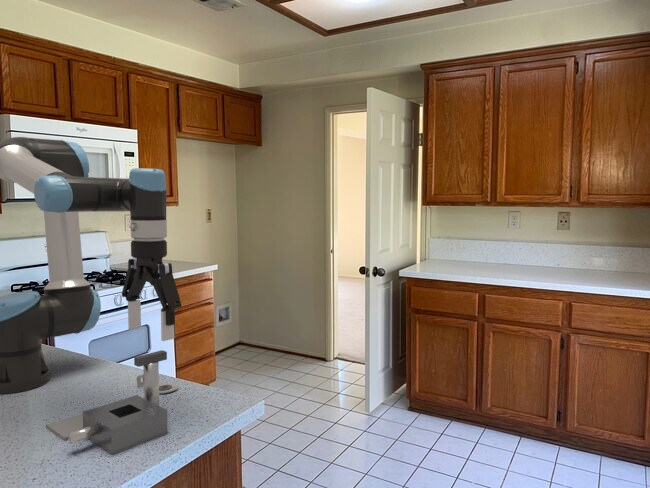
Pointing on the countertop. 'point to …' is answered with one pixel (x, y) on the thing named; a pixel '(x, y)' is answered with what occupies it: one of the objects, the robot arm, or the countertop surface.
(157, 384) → the chuck key
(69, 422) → the mat
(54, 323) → the robot arm
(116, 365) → the countertop surface
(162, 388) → the bracket
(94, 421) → the block
